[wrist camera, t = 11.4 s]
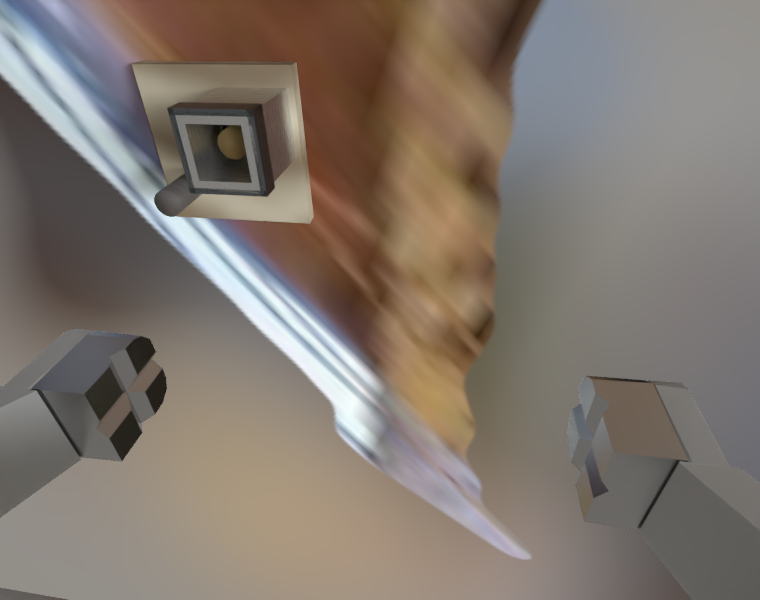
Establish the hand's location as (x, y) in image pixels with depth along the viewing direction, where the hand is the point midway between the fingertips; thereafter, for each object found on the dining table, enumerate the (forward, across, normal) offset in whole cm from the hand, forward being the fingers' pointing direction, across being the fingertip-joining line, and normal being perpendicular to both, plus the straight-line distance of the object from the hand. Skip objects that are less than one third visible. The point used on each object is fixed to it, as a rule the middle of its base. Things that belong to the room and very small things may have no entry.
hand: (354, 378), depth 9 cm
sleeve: (+28, +13, +3) cm, 31 cm away
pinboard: (+29, +16, +5) cm, 34 cm away
